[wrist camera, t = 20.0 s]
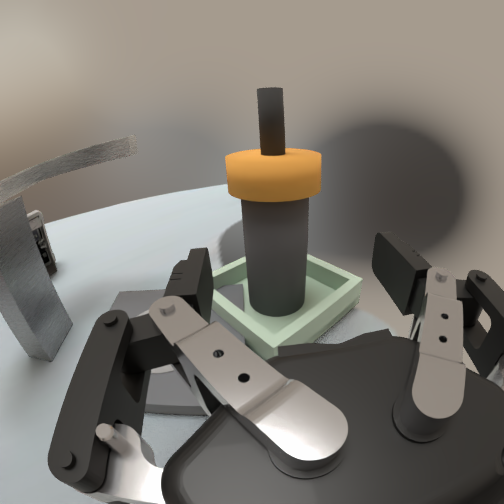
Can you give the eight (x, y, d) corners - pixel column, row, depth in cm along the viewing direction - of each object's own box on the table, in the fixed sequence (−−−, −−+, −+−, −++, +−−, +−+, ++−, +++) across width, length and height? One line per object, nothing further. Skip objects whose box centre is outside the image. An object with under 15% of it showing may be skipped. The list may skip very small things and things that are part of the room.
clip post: (52, 361, 17) (-19, 221, 11) (29, 356, 17) (-37, 228, 11) (72, 324, 22) (21, 196, 15) (50, 322, 22) (0, 203, 15)
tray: (197, 304, 24) (191, 281, 23) (278, 262, 29) (278, 241, 28) (274, 371, 17) (273, 348, 16) (358, 302, 22) (362, 278, 21)
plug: (322, 319, 20) (332, 85, 12) (239, 326, 20) (215, 86, 12) (306, 274, 25) (306, 92, 18) (239, 280, 25) (223, 95, 18)
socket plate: (248, 413, 14) (246, 403, 14) (79, 402, 14) (70, 391, 13) (244, 294, 25) (242, 282, 24) (123, 301, 25) (119, 290, 24)
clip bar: (30, 217, 8) (13, 137, 6) (-66, 248, 8) (-79, 204, 6) (138, 155, 20) (132, 116, 19) (30, 185, 20) (24, 154, 19)
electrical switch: (55, 261, 34) (37, 205, 29) (66, 273, 31) (45, 212, 26) (9, 290, 27) (-15, 234, 22) (15, 306, 25) (-14, 245, 20)
